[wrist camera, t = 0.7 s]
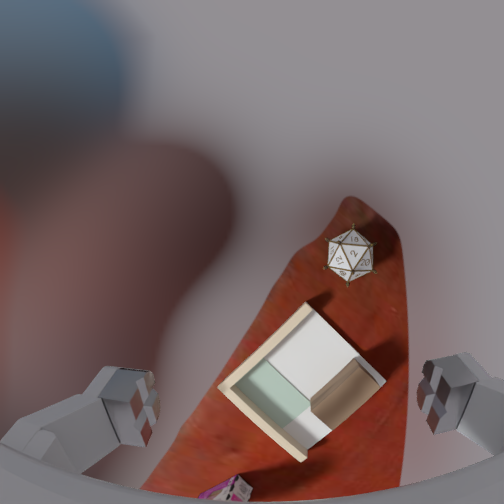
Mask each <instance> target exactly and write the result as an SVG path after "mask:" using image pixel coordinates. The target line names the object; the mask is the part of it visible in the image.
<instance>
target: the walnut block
mask: <svg viewBox="0 0 504 504" xmlns="http://www.w3.org/2000/svg"><path fill="white" fill-rule="evenodd" d="M380 388H381V387H380V386H379V384H378V383H377V381H376V380H375V378H374V377H373V376H372V375H371V374H370V373H369V372H368V371H367V370H366V369H365V368H364V367H363V366H362V365H361V364H360V363H359V362H358V361H357V360H356V359H355V358H353V359H352V360H351V361H350V362H349V363H348V364H347V365H346V366H345V367H344V368H343V369H342V370H341V371H340V372H339V373H338V374H336V375H335V376H334V377H333V378H332V379H331V380H330V381H329V382H328V383H327V384H326V385H325V386H323V387H322V388H321V389H320V390H319V391H318V392H317V393H316V394H314V395H313V396H312V397H311V398H310V407H311V412H312V413H313V414H314V415H315V416H316V417H317V418H318V419H320V420H321V421H322V422H323V423H324V424H325V425H326V426H328V427H329V428H330V429H331V430H334V429H335V428H336V427H337V426H338V425H340V424H341V423H342V422H343V421H344V420H346V419H347V418H348V417H349V416H350V415H351V414H352V413H354V412H355V411H356V410H357V409H358V408H359V407H360V406H361V405H363V404H364V403H365V402H366V401H367V400H368V399H369V398H370V397H371V396H372V395H373V394H374V393H375V392H376V391H378V390H379V389H380Z"/></svg>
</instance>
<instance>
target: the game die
mask: <svg viewBox="0 0 504 504" xmlns="http://www.w3.org/2000/svg"><path fill="white" fill-rule="evenodd" d="M355 226H356V225H355V224H354V223H353V225H352V229H351V230H349V231H347V232H345V233H343V234H341V235H339V236H337V237H335V238H333V239H331V240H329V239H328V238H325V240H326V241H327V242H329V248H328V265H327V266H324V268H323V269H327V268H330V269H331V270H332V271H334V272H335V273H336V274H338V275H339V276H340V277H342V278H343V279H344V280H346V281H347V283H346V286H347V287H348V286H349V282H350V281H352V280H354V279H356V278H358V277H361V276H363V275H365V274H367V273H369V272H371V271H372V272H373V273H374V274H377V271H376V270H374V269H373V246H376V244H377V243H375V242H374V243H373V244H371V243H370V242H369V241H368V240H367V239H366V238H365V237H363V236H362V235H361V234H360V233H359V232H357V231H356V230H355V229H354V228H355Z"/></svg>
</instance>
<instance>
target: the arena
mask: <svg viewBox="0 0 504 504" xmlns="http://www.w3.org/2000/svg"><path fill="white" fill-rule="evenodd" d="M353 358H355V359H356V360H357V361H358V362H359V363H360V364H361V365H362V366H363V367H364V368H365V369H366V370H367V371H368V372H369V373H370V374H371V375H372V376H373V377H374V378H375V380H376V381H377V383H378V384H379V386H380V387H381V386H382V385H383V384H384V383H385V382H386V380H385V379H384V378H383V377H382V376H381V375H380V374H379V373H378V372H377V371H376V370H375V369H374V368H373V367H372V366H371V365H370V364H369V363H368V362H367V361H366V360H365V359H364V358H363V357H362V356H361V355H360V354H359V353H358V352H357V351H356V350H355V349H354V348H353V347H351V346H350V345H349V344H348V343H347V342H346V341H345V340H344V339H343V338H342V337H341V336H340V335H339V334H338V333H337V332H336V331H335V330H334V329H333V328H332V327H331V326H330V325H329V324H328V323H327V322H326V321H325V320H324V319H323V318H322V317H321V316H320V315H319V314H318V313H317V312H316V311H315V310H314V309H313V308H312V307H311V306H310V305H309V304H308V303H307V302H305V303H304V304H303V305H302V306H301V307H300V308H299V309H298V310H297V311H296V312H295V313H294V314H293V315H292V316H291V317H290V318H289V319H288V320H287V321H286V322H285V323H284V324H283V325H282V326H281V327H280V328H279V329H277V330H276V331H275V332H274V333H273V334H272V335H271V336H270V337H269V338H268V339H267V340H266V341H265V342H264V343H263V344H262V345H261V346H260V347H259V348H258V349H257V350H256V351H255V352H253V353H252V354H251V355H250V356H249V357H248V358H247V359H246V360H245V361H244V362H243V363H242V364H241V365H240V366H238V367H237V368H236V369H235V370H234V371H233V372H232V373H231V374H230V375H229V376H228V377H226V378H225V379H224V380H223V381H222V382H221V383H220V384H219V386H218V387H217V388H218V389H219V390H220V391H221V392H222V393H223V394H224V395H225V396H226V397H227V398H228V399H230V400H231V401H232V402H233V403H234V404H235V405H236V406H237V407H238V408H239V409H240V410H241V411H242V412H243V413H244V414H245V415H246V416H248V417H249V418H250V419H251V420H252V421H253V422H254V423H255V424H256V425H257V426H259V427H260V428H261V429H262V430H263V431H264V432H265V433H266V434H268V435H269V436H270V437H271V438H272V439H273V440H274V441H276V442H277V443H278V444H279V445H280V446H281V447H283V448H284V449H285V450H286V451H287V452H289V453H290V454H291V455H292V456H293V457H295V458H296V459H297V460H298V461H299V462H302V461H304V460H305V459H306V458H307V450H308V449H309V448H311V447H312V446H313V445H314V444H316V443H317V442H318V441H320V440H321V439H322V438H323V437H325V436H326V435H327V434H328V433H330V432H331V431H332V430H331V429H330V428H329V427H328V426H326V425H325V424H324V423H323V422H322V421H321V420H320V419H318V418H317V417H316V416H315V415H314V414H313V413H312V412H311V407H310V398H311V397H312V396H313V395H314V394H316V393H317V392H318V391H319V390H320V389H321V388H322V387H323V386H325V385H326V384H327V383H328V382H329V381H330V380H331V379H332V378H333V377H334V376H335V375H336V374H338V373H339V372H340V371H341V370H342V369H343V368H344V367H345V366H346V365H347V364H348V363H349V362H350V361H351V360H352V359H353Z"/></svg>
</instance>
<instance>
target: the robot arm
mask: <svg viewBox="0 0 504 504" xmlns="http://www.w3.org/2000/svg"><path fill="white" fill-rule="evenodd" d="M422 373H423V374H424V378H423V379H422V381H421V382H420V383H419V385H418V389H417V403H418V406H419V408H420V410H421V411H422V412H423V413H425V414H427V415H428V417H427V420H426V421H427V423H428V425H429V427H430V429H431V431H432V433H433V435H434V434H439V433H443V432H447V431H451V430H455V429H457V431H458V432H460V433H461V434H463V435H464V436H466V437H467V438H469V439H470V440H472V441H473V442H475V443H476V444H478V445H479V446H481V447H482V448H484V449H485V450H487V451H488V452H490V453H491V454H493V455H494V456H493V457H491V458H488V459H486V460H483V461H481V462H478V463H476V464H473V465H470V466H468V467H465V468H462V469H459V470H456V471H453V472H450V473H447V474H444V475H441V476H438V477H434V478H431V479H428V480H424V481H421V482H416V483H413V484H409V485H405V486H400V487H396V488H391V489H386V490H381V491H376V492H371V493H365V494H359V495H352V496H345V497H337V498H329V499H318V500H306V501H287V502H239V501H221V500H208V499H198V498H189V497H181V496H174V495H167V494H161V493H155V492H150V491H145V490H140V489H135V488H130V487H125V486H121V485H117V484H113V483H109V482H105V481H102V480H98V479H94V478H91V477H87V476H84V475H81V473H82V472H83V471H85V470H86V469H88V468H89V467H90V466H92V465H93V464H95V463H96V462H97V461H99V460H100V459H101V458H103V457H104V456H106V455H107V454H108V453H110V452H111V451H112V450H114V449H115V448H116V447H118V446H119V445H120V443H121V444H127V445H133V446H140V447H146V446H147V444H148V441H149V439H150V436H151V434H152V430H151V427H150V426H151V425H153V424H155V423H156V422H157V420H158V417H159V412H160V400H159V396H158V393H157V392H156V391H155V390H154V389H153V386H154V384H155V380H154V377H153V373H151V372H150V371H145V370H137V369H129V368H119V367H112V366H105V367H103V368H102V369H101V371H100V372H99V373H98V375H97V376H96V377H95V379H94V380H93V381H92V382H91V384H90V385H89V386H88V388H87V389H86V390H85V392H84V393H83V394H82V395H80V394H77V395H75V396H72V397H70V398H68V399H65V400H63V401H61V402H59V403H56V404H54V405H52V406H49V407H47V408H45V409H42V410H40V411H38V412H35V413H33V414H31V415H28V416H26V417H23V418H21V419H19V420H18V421H17V422H16V423H15V424H14V425H13V427H12V428H11V429H10V430H9V431H8V432H7V434H6V435H5V436H4V437H3V438H2V440H1V441H0V504H504V380H503V379H500V378H497V377H494V378H492V377H491V376H490V375H489V374H488V373H487V372H486V370H485V369H484V368H483V367H482V366H481V365H480V364H479V363H478V362H477V361H476V360H475V358H474V357H472V355H471V354H470V353H467V352H464V353H459V354H455V355H453V356H448V357H443V358H438V359H432V360H427V361H426V362H425V364H424V366H423V370H422Z"/></svg>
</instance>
